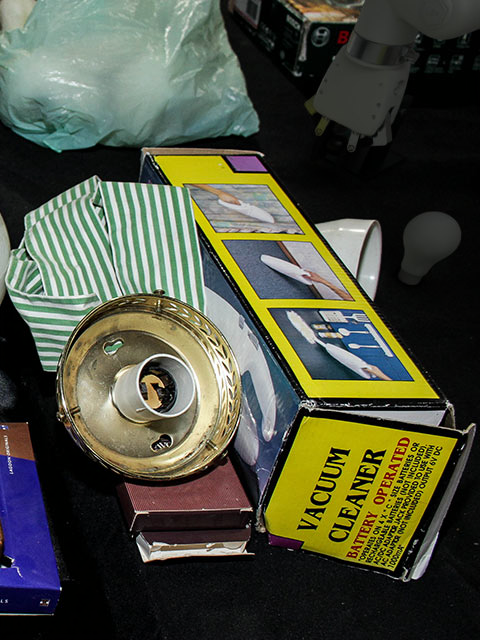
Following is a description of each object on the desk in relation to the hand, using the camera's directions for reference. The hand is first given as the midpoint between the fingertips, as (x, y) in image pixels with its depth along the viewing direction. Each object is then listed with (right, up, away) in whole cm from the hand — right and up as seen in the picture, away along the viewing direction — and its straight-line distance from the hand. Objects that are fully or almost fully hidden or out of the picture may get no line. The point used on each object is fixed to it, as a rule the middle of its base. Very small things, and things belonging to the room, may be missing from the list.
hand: (329, 163), depth 129 cm
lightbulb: (+2, -19, -15) cm, 24 cm away
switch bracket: (+8, +1, +6) cm, 10 cm away
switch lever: (+4, +4, 0) cm, 6 cm away
